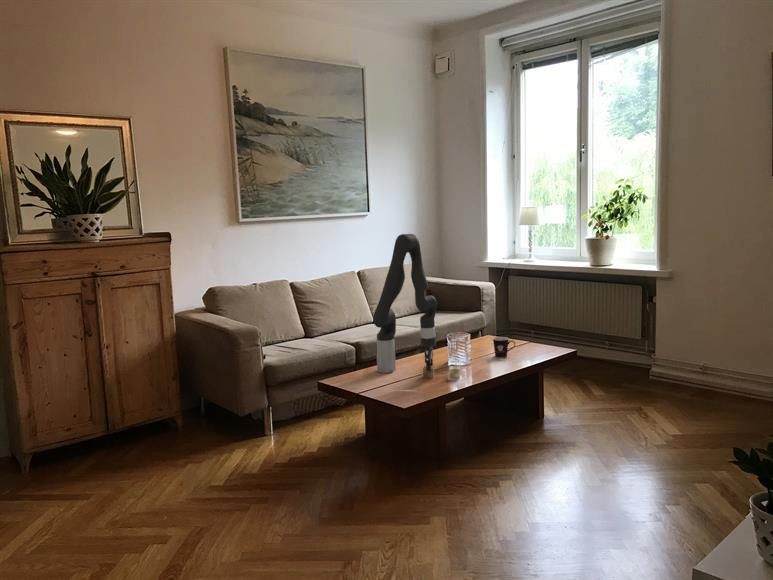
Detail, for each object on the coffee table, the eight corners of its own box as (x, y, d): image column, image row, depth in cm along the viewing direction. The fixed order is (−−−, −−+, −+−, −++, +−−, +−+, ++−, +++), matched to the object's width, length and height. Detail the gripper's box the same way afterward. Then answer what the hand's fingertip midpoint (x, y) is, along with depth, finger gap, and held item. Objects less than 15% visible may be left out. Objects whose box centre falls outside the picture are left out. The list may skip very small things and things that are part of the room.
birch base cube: (449, 378, 310) (449, 369, 309) (450, 376, 315) (450, 366, 314) (459, 379, 309) (459, 369, 308) (460, 376, 314) (460, 366, 313)
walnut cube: (423, 378, 312) (422, 369, 312) (424, 375, 317) (424, 366, 317) (433, 378, 311) (432, 369, 311) (434, 376, 316) (434, 366, 316)
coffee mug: (490, 356, 353) (490, 339, 352) (498, 353, 360) (498, 336, 358) (508, 359, 346) (508, 341, 344) (516, 356, 352) (516, 338, 351)
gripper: (422, 333, 319) (424, 364, 321) (418, 339, 305) (420, 371, 307) (437, 333, 318) (438, 364, 320) (434, 339, 304) (435, 371, 306)
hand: (429, 368), depth 314 cm, fingers open, 8 cm apart
